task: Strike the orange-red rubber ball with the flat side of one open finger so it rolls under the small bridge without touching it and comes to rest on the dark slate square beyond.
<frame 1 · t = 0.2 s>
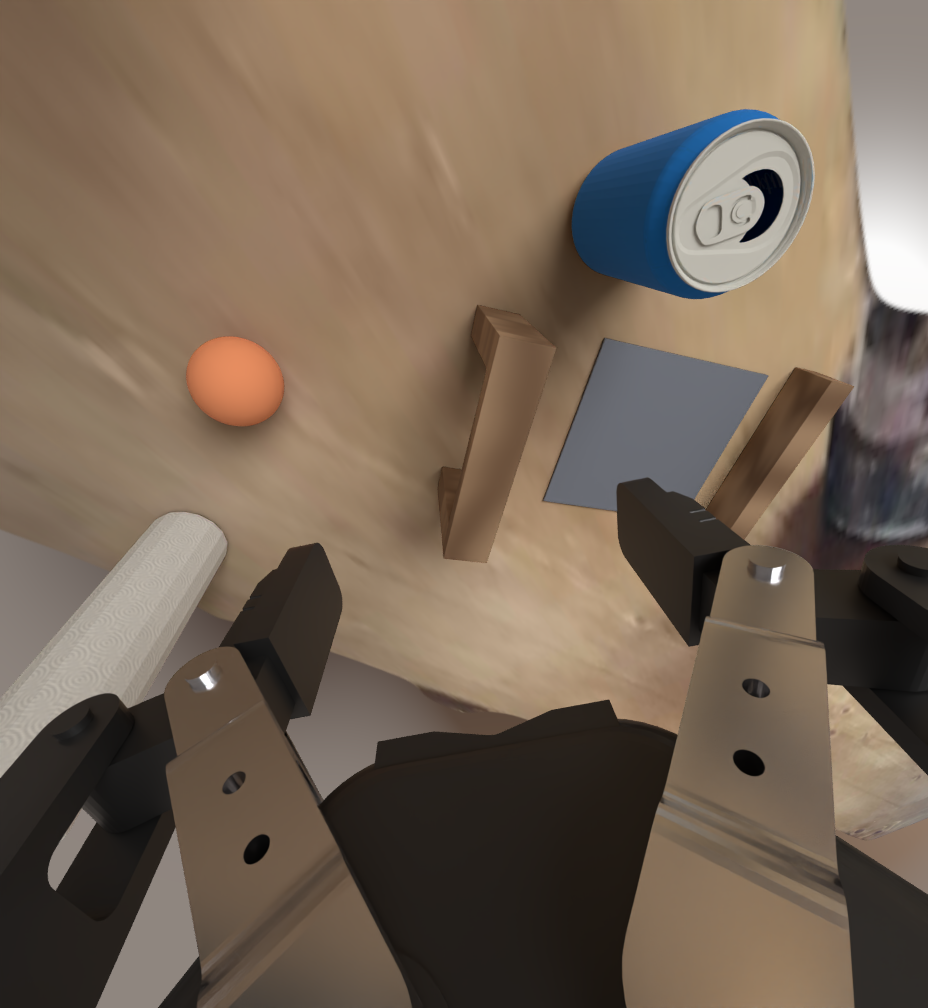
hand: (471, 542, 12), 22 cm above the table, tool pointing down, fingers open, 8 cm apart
stopper: (748, 459, 38), on the table
beverage can: (617, 215, 27), on the table
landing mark: (647, 441, 36), on the table
ball: (237, 382, 27), on the table
paper towel roll: (186, 538, 37), on the table
bridge: (474, 410, 33), on the table
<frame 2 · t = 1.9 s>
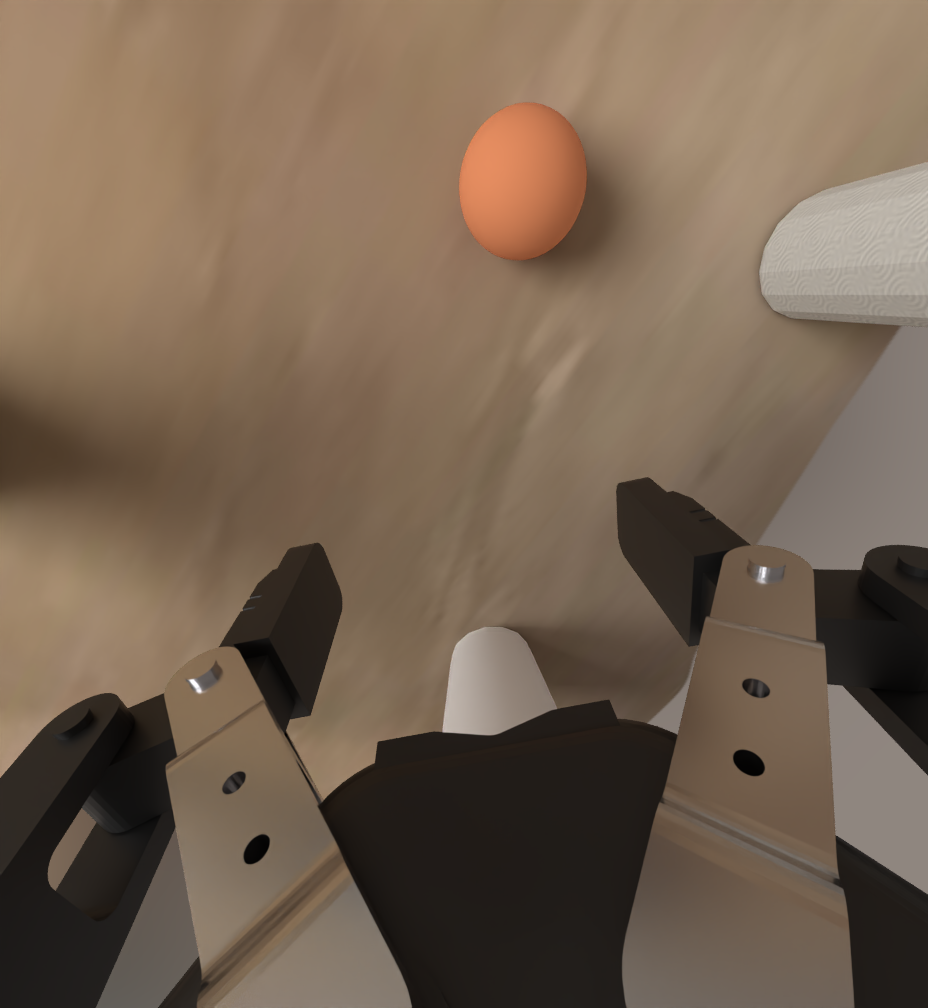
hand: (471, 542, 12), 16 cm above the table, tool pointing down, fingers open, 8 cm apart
foam cup: (490, 654, 35), on the table
ball: (521, 188, 19), on the table
paper towel roll: (811, 267, 24), on the table
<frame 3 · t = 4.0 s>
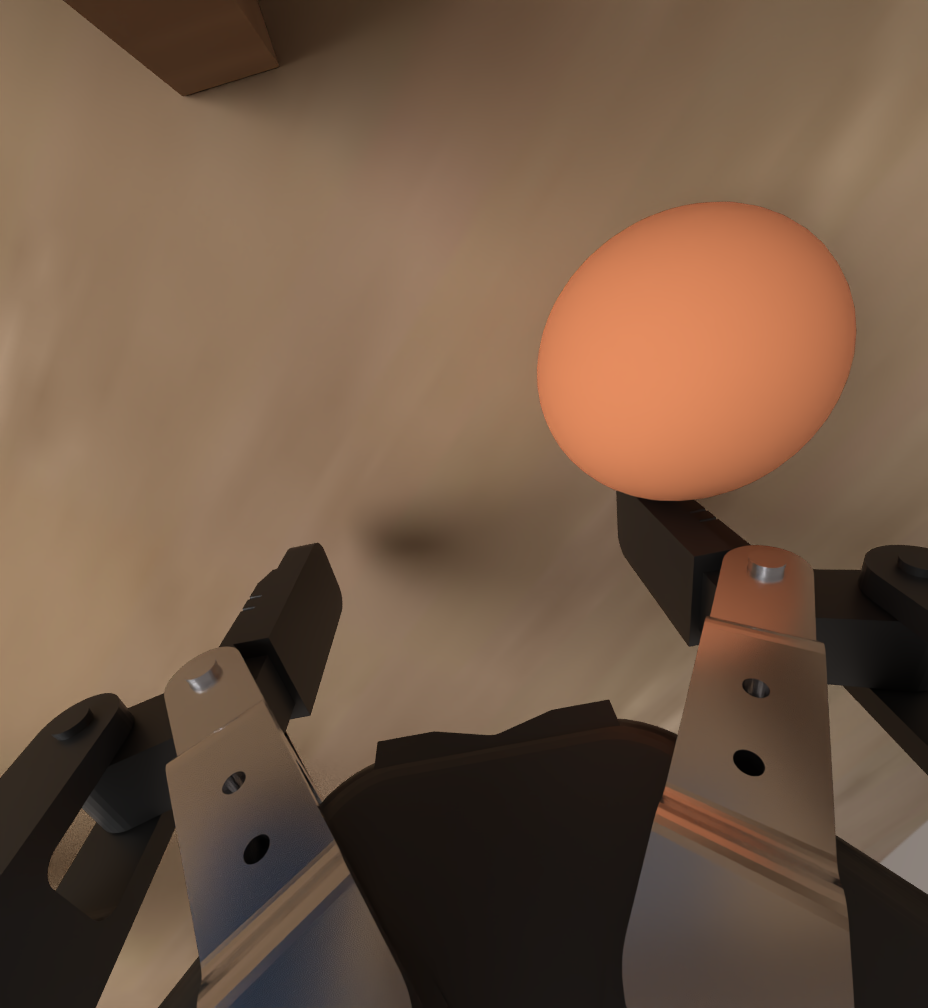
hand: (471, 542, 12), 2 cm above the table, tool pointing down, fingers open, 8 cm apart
ball: (673, 366, 9), on the table
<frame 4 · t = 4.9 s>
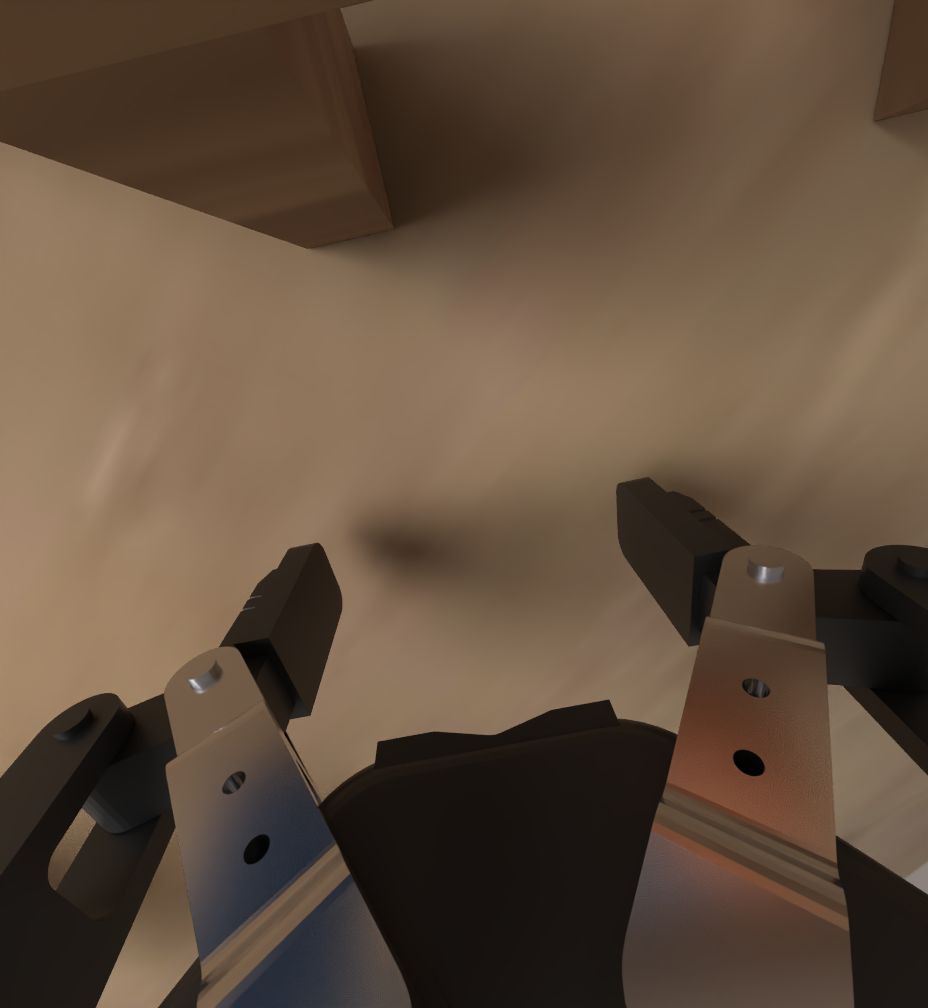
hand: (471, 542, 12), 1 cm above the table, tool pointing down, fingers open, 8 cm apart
bridge: (627, 85, 9), on the table
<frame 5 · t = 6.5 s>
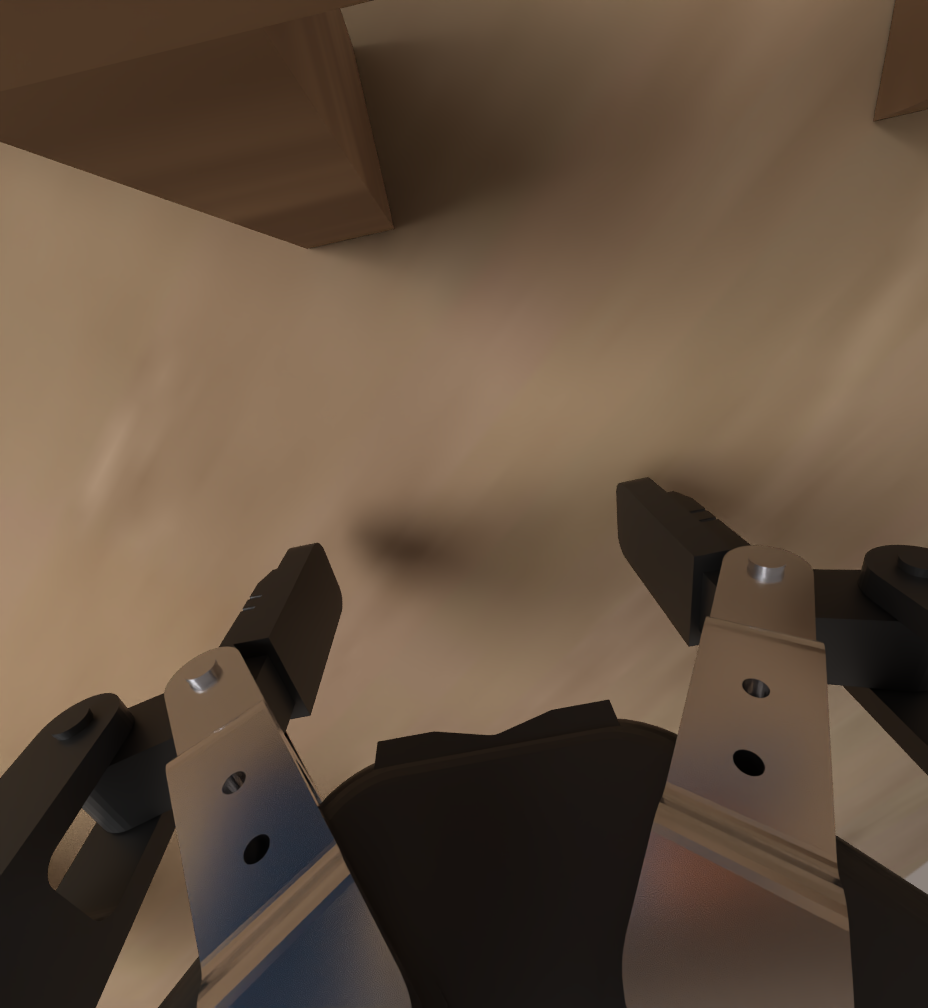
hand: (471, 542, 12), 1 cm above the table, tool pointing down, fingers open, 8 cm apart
bridge: (627, 85, 9), on the table
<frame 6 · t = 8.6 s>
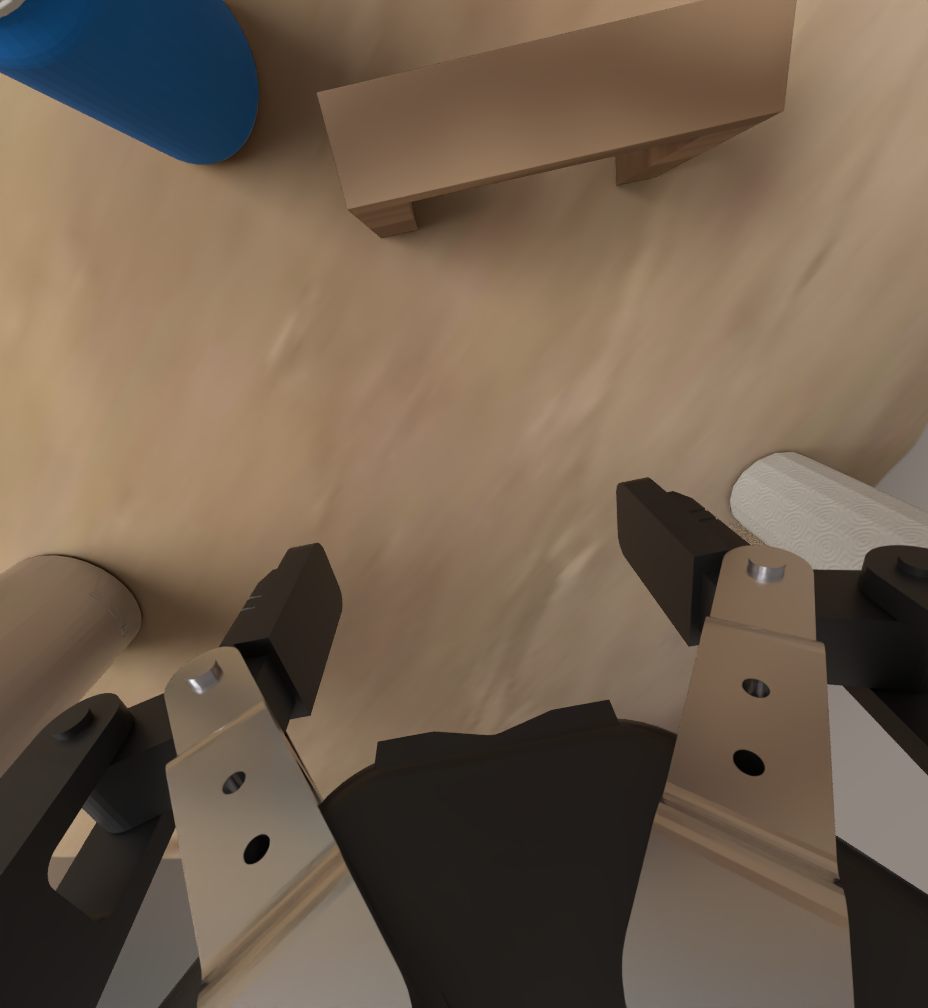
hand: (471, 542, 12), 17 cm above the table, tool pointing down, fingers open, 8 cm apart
beverage can: (193, 82, 20), on the table
paper towel roll: (770, 494, 31), on the table
bridge: (512, 172, 22), on the table
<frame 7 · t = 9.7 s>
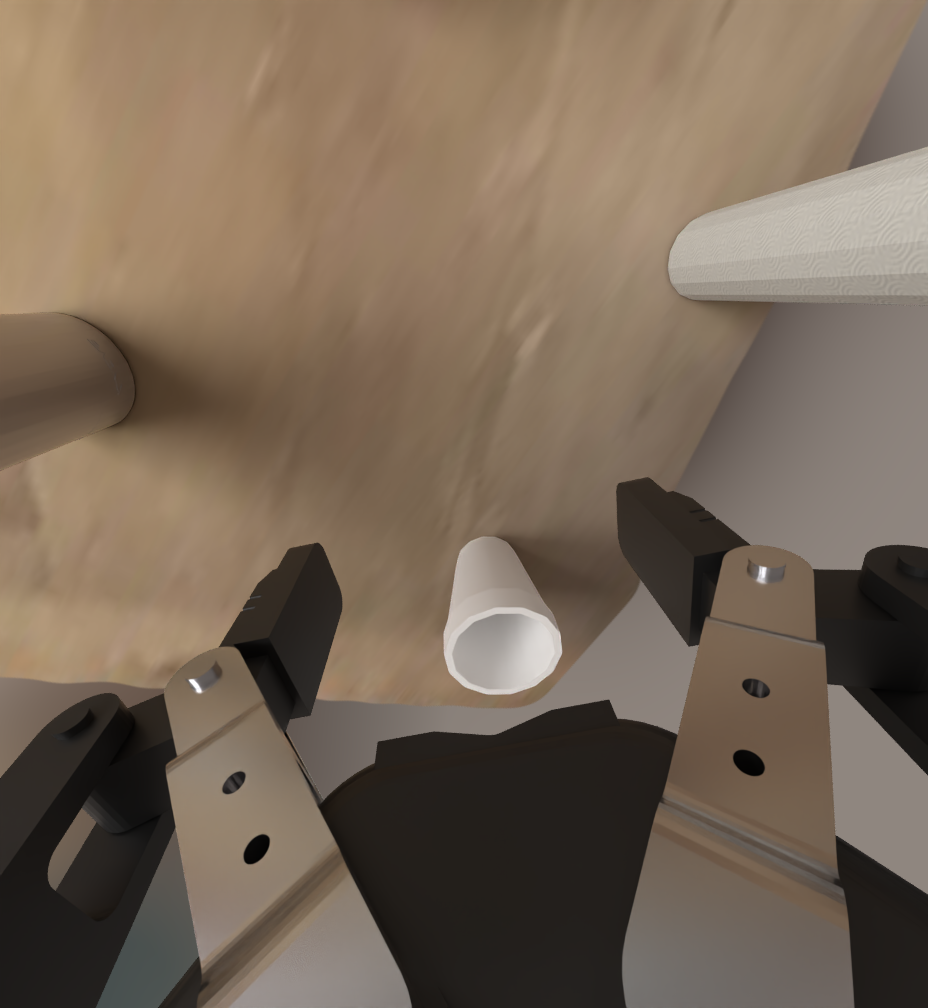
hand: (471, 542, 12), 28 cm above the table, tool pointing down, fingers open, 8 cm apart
foam cup: (486, 560, 46), on the table
paper towel roll: (704, 264, 34), on the table
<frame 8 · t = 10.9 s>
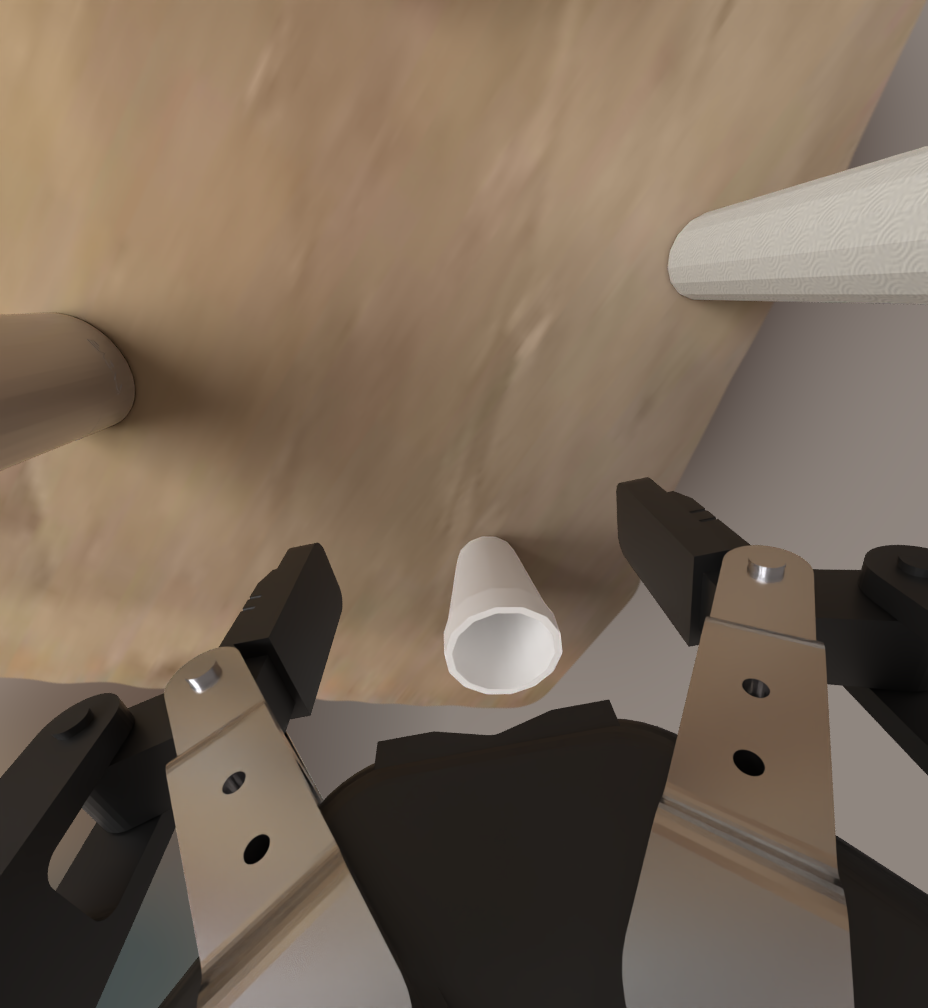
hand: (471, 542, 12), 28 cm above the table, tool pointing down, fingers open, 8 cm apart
foam cup: (486, 560, 46), on the table
paper towel roll: (704, 264, 34), on the table
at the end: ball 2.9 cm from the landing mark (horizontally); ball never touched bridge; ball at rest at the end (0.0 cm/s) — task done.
